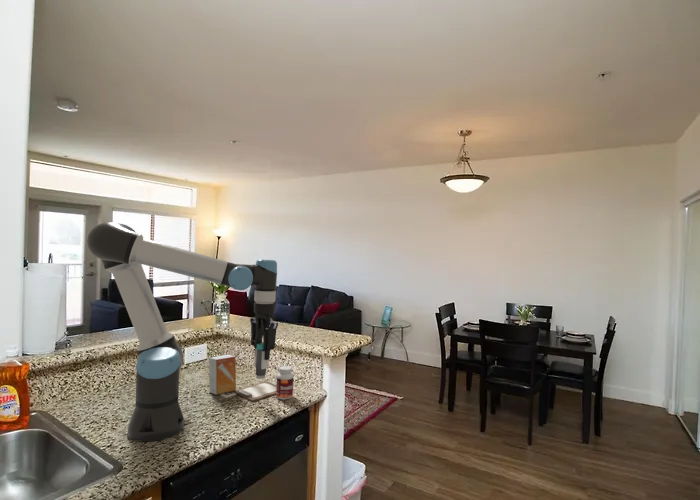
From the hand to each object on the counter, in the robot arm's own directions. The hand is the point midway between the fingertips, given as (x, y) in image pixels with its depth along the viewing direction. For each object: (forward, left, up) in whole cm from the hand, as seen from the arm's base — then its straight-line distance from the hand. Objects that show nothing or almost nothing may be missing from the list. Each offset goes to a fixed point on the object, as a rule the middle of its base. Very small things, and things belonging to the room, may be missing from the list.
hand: (261, 367), depth 142 cm
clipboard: (+6, +9, -13) cm, 17 cm away
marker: (0, 0, -4) cm, 4 cm away
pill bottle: (+9, -2, -13) cm, 16 cm away
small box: (-4, +18, -13) cm, 22 cm away
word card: (-3, +15, -13) cm, 20 cm away
